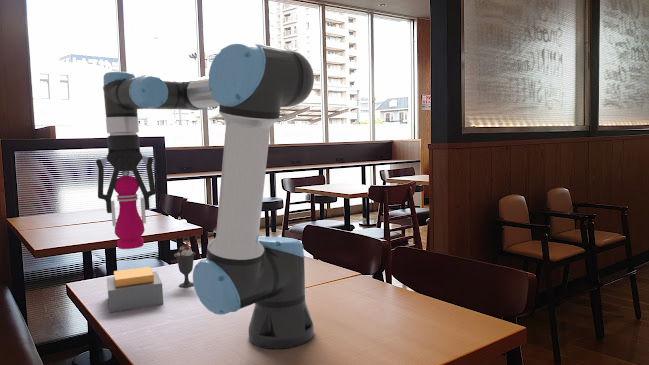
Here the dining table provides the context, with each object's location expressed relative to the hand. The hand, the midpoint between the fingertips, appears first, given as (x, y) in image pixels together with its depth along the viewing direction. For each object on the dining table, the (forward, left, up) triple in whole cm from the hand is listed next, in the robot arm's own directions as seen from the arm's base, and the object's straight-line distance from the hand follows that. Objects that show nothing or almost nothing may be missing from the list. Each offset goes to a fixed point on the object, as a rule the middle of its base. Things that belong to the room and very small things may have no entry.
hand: (129, 223), depth 130 cm
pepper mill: (0, 0, -6) cm, 6 cm away
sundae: (+22, -17, -25) cm, 37 cm away
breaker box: (+14, -1, -25) cm, 28 cm away
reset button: (+14, -1, -24) cm, 27 cm away
